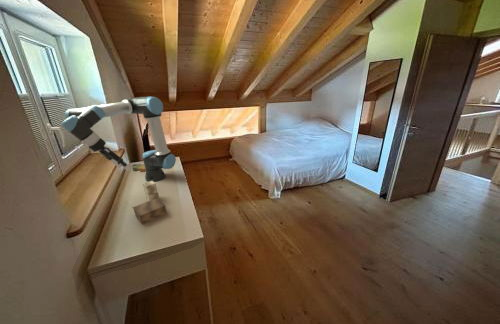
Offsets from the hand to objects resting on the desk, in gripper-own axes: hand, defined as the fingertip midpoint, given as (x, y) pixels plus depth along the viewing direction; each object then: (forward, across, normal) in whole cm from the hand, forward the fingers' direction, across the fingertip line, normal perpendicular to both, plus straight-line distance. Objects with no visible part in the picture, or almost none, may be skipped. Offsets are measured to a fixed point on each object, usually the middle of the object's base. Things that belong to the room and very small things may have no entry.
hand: (125, 167), depth 126 cm
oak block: (+28, +1, -4) cm, 28 cm away
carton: (+35, -58, +16) cm, 70 cm away
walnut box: (+24, +17, -13) cm, 33 cm away
